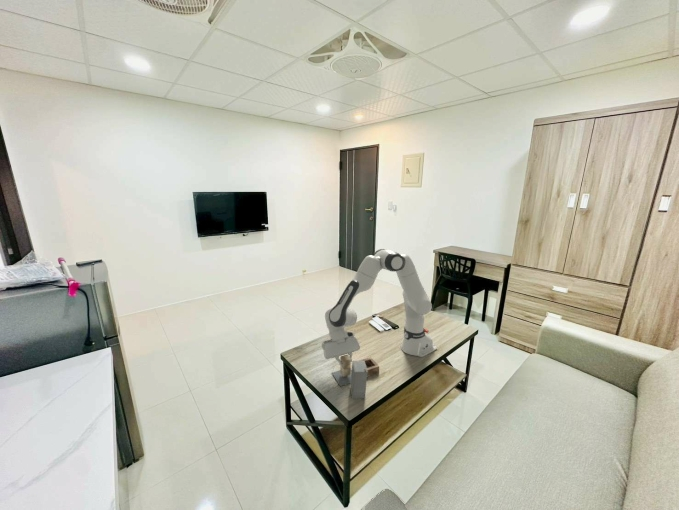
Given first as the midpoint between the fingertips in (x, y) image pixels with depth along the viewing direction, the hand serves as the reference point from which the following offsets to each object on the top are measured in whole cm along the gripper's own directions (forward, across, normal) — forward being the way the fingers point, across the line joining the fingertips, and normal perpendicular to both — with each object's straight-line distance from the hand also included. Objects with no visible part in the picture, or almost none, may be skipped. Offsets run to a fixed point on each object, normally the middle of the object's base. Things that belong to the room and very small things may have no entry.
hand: (346, 363), depth 142 cm
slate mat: (+6, 0, +7) cm, 9 cm away
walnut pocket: (+6, +14, +7) cm, 16 cm away
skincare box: (+15, +1, -2) cm, 15 cm away
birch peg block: (+4, 0, +5) cm, 7 cm away
